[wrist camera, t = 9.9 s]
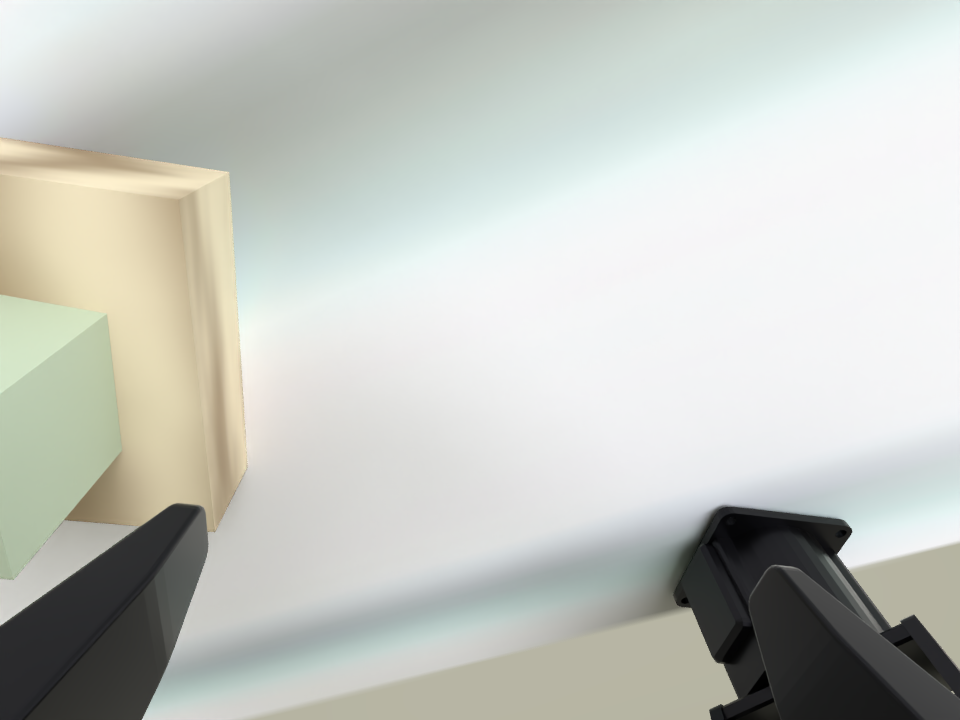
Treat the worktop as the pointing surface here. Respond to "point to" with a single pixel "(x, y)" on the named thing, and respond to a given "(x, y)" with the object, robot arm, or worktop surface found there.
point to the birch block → (139, 312)
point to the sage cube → (50, 419)
